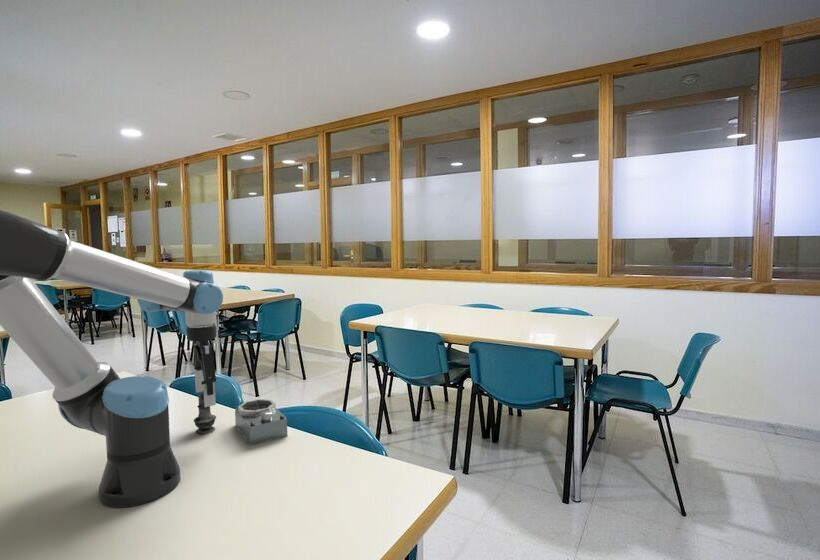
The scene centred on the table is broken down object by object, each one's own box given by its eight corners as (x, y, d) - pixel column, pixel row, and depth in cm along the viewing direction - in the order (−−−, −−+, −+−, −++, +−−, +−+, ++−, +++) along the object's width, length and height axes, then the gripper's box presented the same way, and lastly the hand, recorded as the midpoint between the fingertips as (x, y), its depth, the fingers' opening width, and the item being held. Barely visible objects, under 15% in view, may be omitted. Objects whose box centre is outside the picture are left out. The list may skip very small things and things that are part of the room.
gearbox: (287, 435, 121) (286, 411, 120) (250, 445, 115) (249, 419, 114) (269, 417, 134) (268, 395, 133) (235, 425, 128) (234, 401, 127)
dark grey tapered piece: (220, 426, 127) (219, 386, 126) (209, 435, 121) (207, 393, 120) (201, 426, 127) (199, 386, 127) (189, 434, 122) (187, 392, 121)
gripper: (225, 330, 114) (229, 408, 116) (207, 317, 134) (210, 384, 136) (194, 334, 110) (198, 415, 112) (180, 320, 130) (184, 389, 132)
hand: (205, 398), depth 124 cm, fingers open, 13 cm apart
